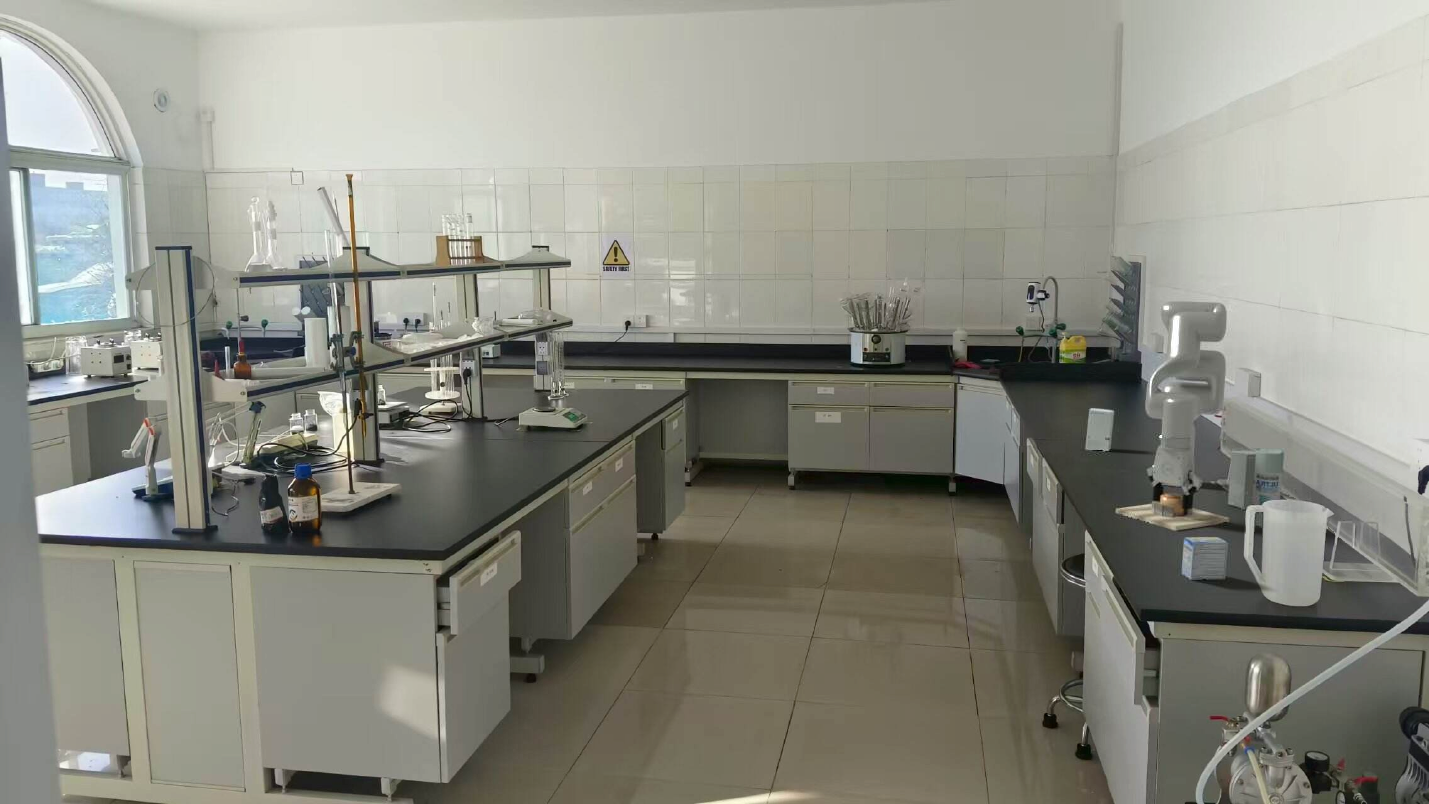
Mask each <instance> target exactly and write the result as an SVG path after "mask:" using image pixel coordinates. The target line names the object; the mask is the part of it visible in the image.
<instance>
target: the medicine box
mask: <svg viewBox="0 0 1429 804" xmlns="http://www.w3.org/2000/svg"><path fill="white" fill-rule="evenodd" d="M1228 546H1229V543H1228V542H1227V541H1225V540H1224V539H1222V538H1220V537H1216V536H1210V537H1209V536H1202V537H1200V536H1197V537H1192V536H1191V537H1188V536H1187V537H1183V547H1182V548H1183V549H1182V550H1183V551H1182V563H1181V575H1182V576H1184V575H1185V576H1186V577H1185V576H1184V577H1185V578H1187V577H1188V578H1189V580H1190V581H1192V580H1194V581H1196V580H1200V581H1201V580H1203V579H1206V580H1226V571H1227V570H1226V569H1227V559H1228ZM1188 578H1187V579H1188Z"/></svg>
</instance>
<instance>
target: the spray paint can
mask: <svg viewBox="0 0 1429 804" xmlns="http://www.w3.org/2000/svg"><path fill="white" fill-rule="evenodd" d="M1255 451H1256V460H1255V474H1254V488H1253V502H1252V504H1254V505H1261V504H1263V503H1264V502H1266V501H1268V500H1276V499H1280V500H1281V490H1282V481H1283V472H1284V471H1283V469H1284V461H1285V460H1284V459H1285V452H1284V451H1283V450H1279V449H1272V448H1258V449H1256V450H1255ZM1256 523H1257V525H1258V526H1260V527H1259V528H1260V529H1263V528H1262V513H1261V512H1259V514H1257V516H1256Z"/></svg>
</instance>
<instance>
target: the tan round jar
mask: <svg viewBox="0 0 1429 804" xmlns="http://www.w3.org/2000/svg"><path fill="white" fill-rule="evenodd" d="M1182 500H1183V494H1180V493H1175V492H1167V493H1166V492H1165V493H1163V495H1161V499H1160V502H1159V503H1160V504H1164V505H1170V506H1174V515H1173V516H1180V515H1183V514H1184V509H1182Z"/></svg>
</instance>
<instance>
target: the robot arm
mask: <svg viewBox="0 0 1429 804" xmlns="http://www.w3.org/2000/svg"><path fill="white" fill-rule="evenodd" d="M1160 316H1161V320H1162V322H1163V325H1164V327H1165V328H1166V331H1167V334H1168V336H1167V346H1166V347H1167V348H1166V349H1167V350H1166V358H1165V360H1164V361H1163V362H1162V363H1160V364H1159V365H1158V366H1157V367H1156V368H1155V369H1154V371H1153V372H1151V375H1150V376H1149V378H1148V380H1147V381H1148V382H1147V384H1146V393H1145V404H1144V405H1145V407H1144V408H1145V412H1146V415H1147V416H1148V417H1149V418H1152V419H1155V420H1156V419H1158V420H1161V435H1159V438H1158V439H1159V441H1160V445H1158V446H1157V449H1156V454H1155V456H1154V457H1155V458H1154V462H1153V465H1152V466H1151V467H1149V468H1147V469H1146V472H1147V475H1148V479H1149V481H1150V482H1151V486H1152V487H1153V489H1152V491H1153V492H1152V501H1157V502H1159V501H1160V499H1161V495H1163V494H1164V486H1169V487H1177V488H1180V487H1181V489H1182V491H1183V492H1184V494H1182V496H1183V500H1182V509H1191V508H1192V505H1193V506H1194V495H1196V494H1197V493H1198V492H1199V490H1200V488H1201V486H1202V485H1203V481H1204V480H1202V479H1201V478H1200V477H1199V476H1198V475H1197V474H1195V454H1194V453H1195V452H1194V451H1195V440H1196V426H1195V424H1194V421H1196V420H1197V419H1198V418H1199V417H1200V416H1201V415H1210V416H1214V415H1218V414H1220V413H1221V411H1222V409H1223V406H1224V400H1225V399H1224V398H1225V388H1226V387H1225V386H1226V385H1225V384H1226V383H1225V382H1226V374H1227V372H1226V371H1227V370H1226V369H1227V368H1226V366H1227V362H1226V358H1225V355H1224V354H1223V353H1222V352H1220V351H1219V350H1209V349H1208V350H1207V349H1201V343H1202V342H1203V343H1204V342H1205V343H1218V342H1221V341H1222V340H1223V339H1224V338H1225V335H1226V332H1227V319H1228V317H1227V308H1226V306H1225V305H1224V304H1223V303H1221V302H1211V301H1184V300H1183V301H1182V300H1181V301H1179V300H1178V301H1169V302H1165V303H1164V304H1163V305H1161V309H1160ZM1169 378H1172V379H1173V380H1178V381H1173V382H1172V381H1171V382H1169V383H1166V384H1165V385H1164V386H1163V387H1162V388H1161V391H1158V387H1159V385H1161V383H1162V382H1163V381H1165V380H1167V379H1169ZM1185 381H1186V382H1185ZM1198 382H1199V383H1198ZM1200 382H1201V383H1200ZM1202 382H1205V383H1202ZM1163 485H1164V486H1163Z"/></svg>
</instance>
